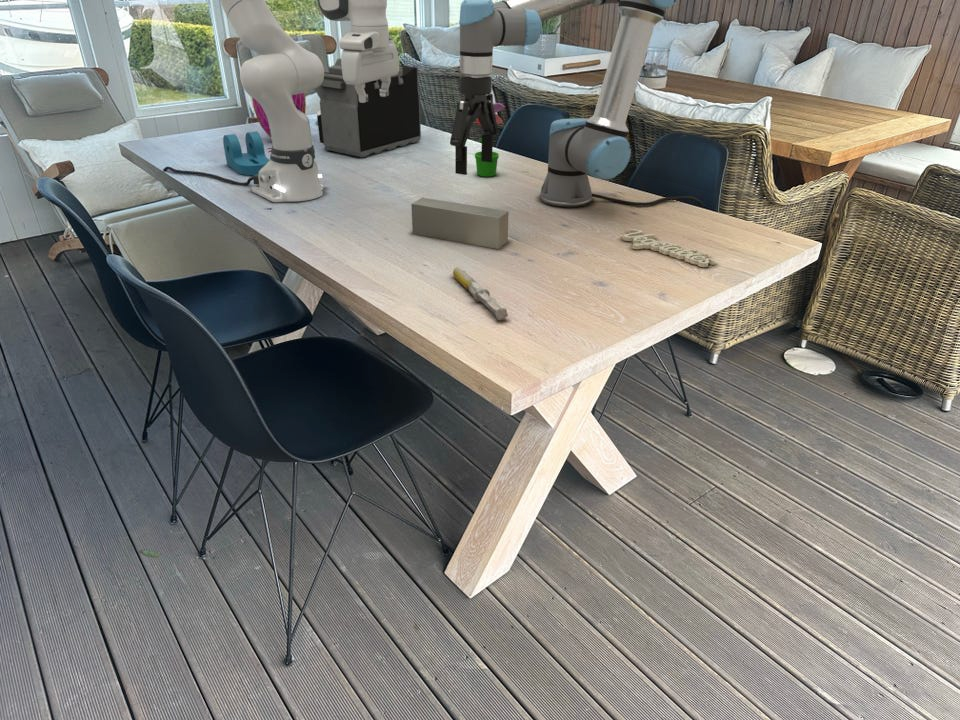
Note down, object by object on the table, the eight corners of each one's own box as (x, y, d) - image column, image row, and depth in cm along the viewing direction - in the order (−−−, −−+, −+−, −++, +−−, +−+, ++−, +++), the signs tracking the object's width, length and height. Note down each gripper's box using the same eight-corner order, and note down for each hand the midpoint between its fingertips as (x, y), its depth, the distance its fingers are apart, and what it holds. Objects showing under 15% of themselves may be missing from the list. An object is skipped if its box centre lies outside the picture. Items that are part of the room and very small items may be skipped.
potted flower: (480, 178, 221) (480, 97, 208) (469, 172, 227) (469, 93, 214) (505, 175, 225) (507, 94, 212) (494, 169, 231) (495, 90, 218)
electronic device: (383, 133, 276) (378, 52, 261) (425, 141, 265) (422, 56, 250) (314, 150, 251) (304, 61, 235) (358, 160, 240) (350, 67, 224)
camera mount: (227, 164, 233) (221, 132, 227) (257, 160, 238) (252, 129, 233) (244, 176, 220) (239, 143, 215) (276, 172, 225) (271, 139, 220)
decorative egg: (293, 132, 276) (283, 50, 261) (319, 140, 264) (310, 56, 249) (249, 139, 265) (236, 54, 250) (273, 148, 253) (261, 60, 238)
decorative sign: (608, 236, 174) (633, 227, 180) (608, 240, 175) (632, 231, 180) (698, 267, 157) (722, 256, 163) (698, 271, 158) (721, 260, 163)
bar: (507, 241, 173) (508, 210, 169) (498, 249, 169) (499, 217, 165) (423, 227, 182) (422, 197, 178) (412, 233, 178) (411, 203, 173)
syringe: (449, 274, 155) (449, 263, 153) (465, 272, 156) (464, 260, 154) (490, 323, 135) (491, 310, 133) (508, 319, 136) (508, 307, 134)
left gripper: (382, 34, 174) (385, 91, 181) (334, 41, 158) (340, 104, 165) (403, 35, 172) (406, 93, 179) (357, 43, 156) (362, 107, 163)
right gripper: (485, 67, 170) (483, 154, 180) (434, 80, 150) (435, 177, 161) (513, 70, 167) (509, 158, 177) (464, 83, 147) (463, 181, 158)
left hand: (374, 99), depth 172 cm, fingers open, 8 cm apart
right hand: (474, 167), depth 169 cm, fingers open, 13 cm apart
